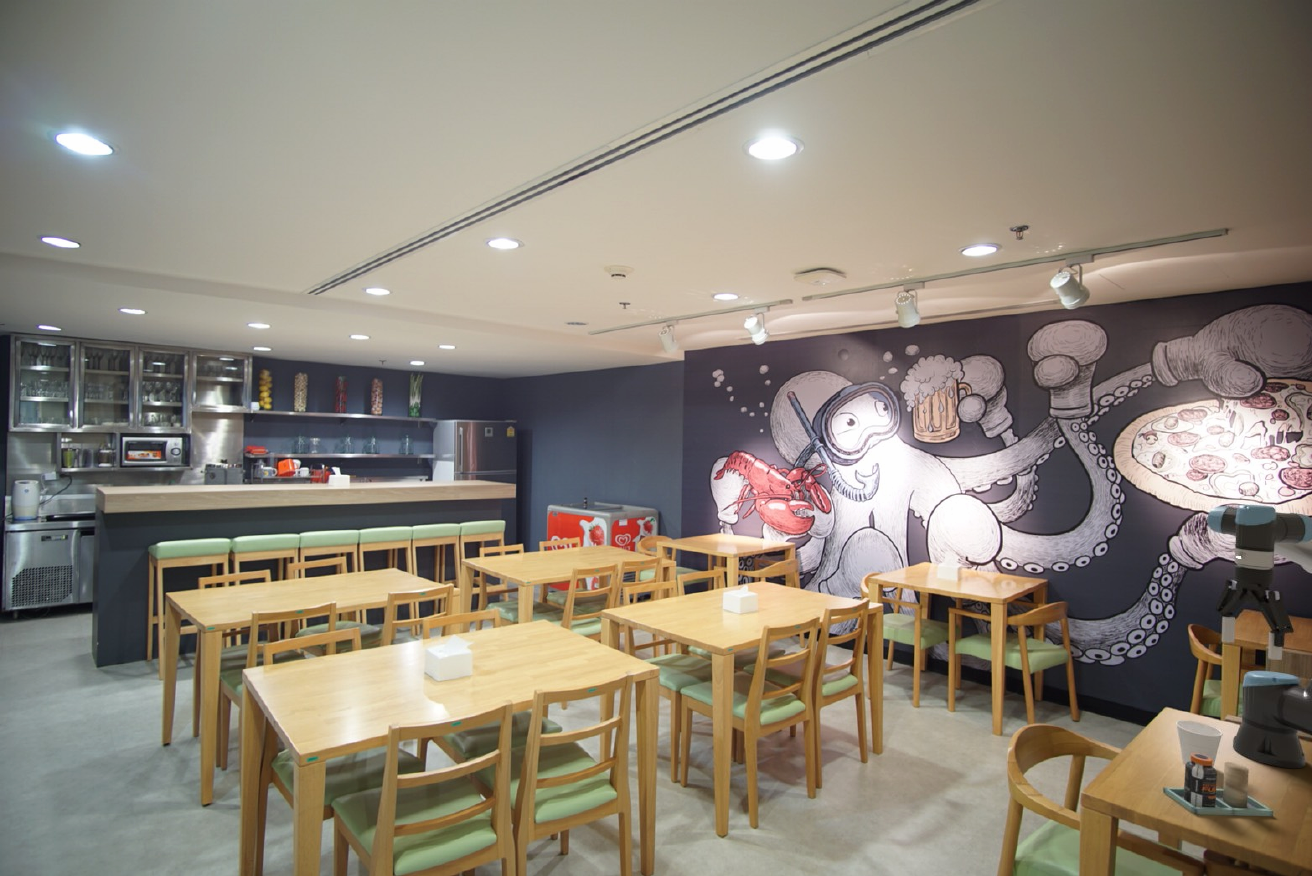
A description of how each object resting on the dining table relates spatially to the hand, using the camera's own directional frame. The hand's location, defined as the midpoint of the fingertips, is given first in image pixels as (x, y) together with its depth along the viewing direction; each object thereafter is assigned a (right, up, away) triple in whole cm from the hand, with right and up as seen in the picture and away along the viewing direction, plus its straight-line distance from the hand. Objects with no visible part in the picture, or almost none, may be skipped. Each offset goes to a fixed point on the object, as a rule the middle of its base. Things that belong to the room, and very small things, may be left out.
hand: (1250, 650), depth 174 cm
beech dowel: (-13, -33, -10) cm, 37 cm away
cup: (-6, -35, +9) cm, 36 cm away
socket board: (-17, -34, -10) cm, 40 cm away
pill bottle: (-21, -33, -11) cm, 41 cm away
